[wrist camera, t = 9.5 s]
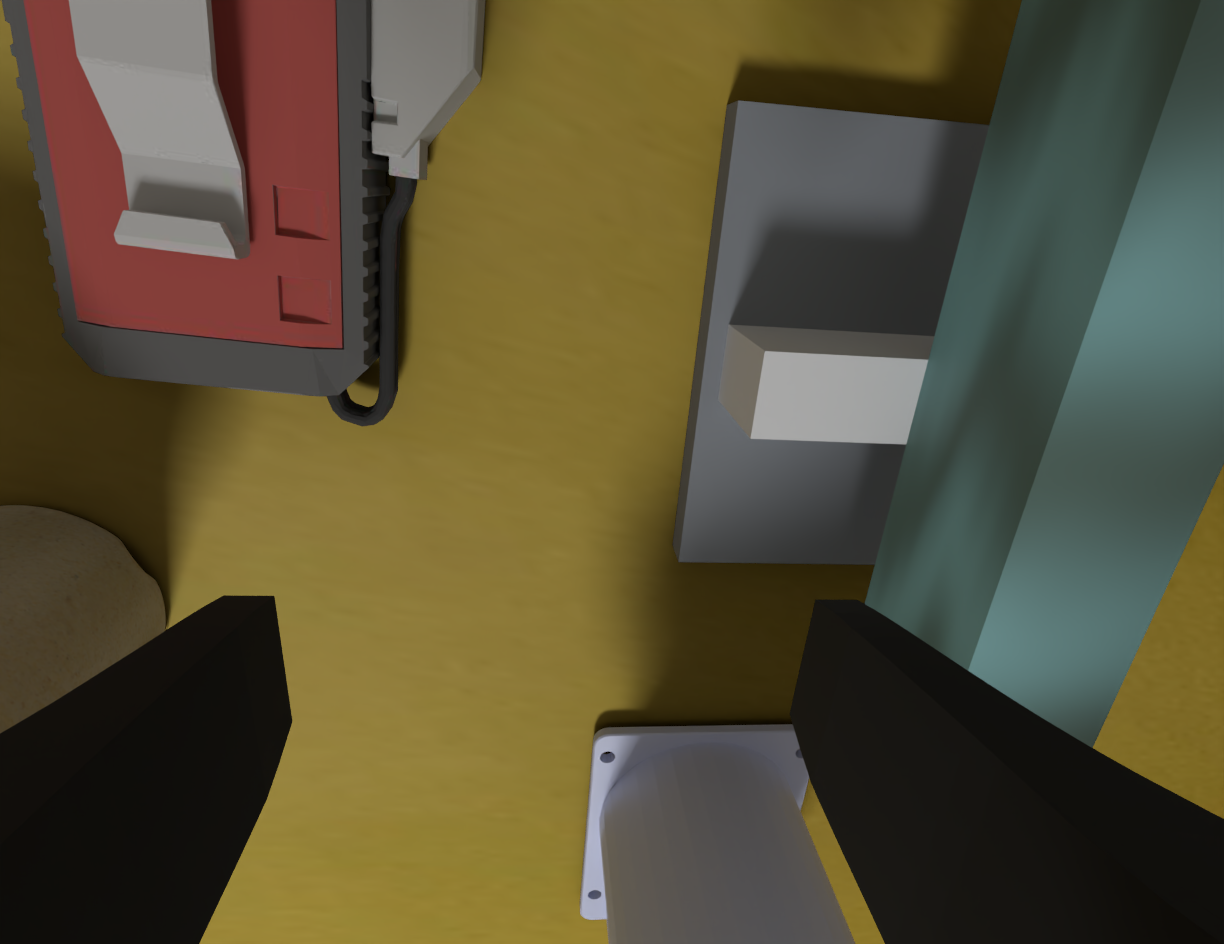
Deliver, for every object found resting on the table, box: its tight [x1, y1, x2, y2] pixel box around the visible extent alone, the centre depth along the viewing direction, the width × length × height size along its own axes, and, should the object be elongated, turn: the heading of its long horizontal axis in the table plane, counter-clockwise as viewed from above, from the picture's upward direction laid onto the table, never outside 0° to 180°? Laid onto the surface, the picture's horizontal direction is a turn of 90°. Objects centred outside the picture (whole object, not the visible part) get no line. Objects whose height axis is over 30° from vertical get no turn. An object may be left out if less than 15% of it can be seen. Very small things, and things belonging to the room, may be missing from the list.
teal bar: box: [865, 0, 1224, 747], centre depth 14 cm, size 16×4×4 cm, turn 176°
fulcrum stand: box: [673, 100, 989, 565], centre depth 17 cm, size 12×12×4 cm
